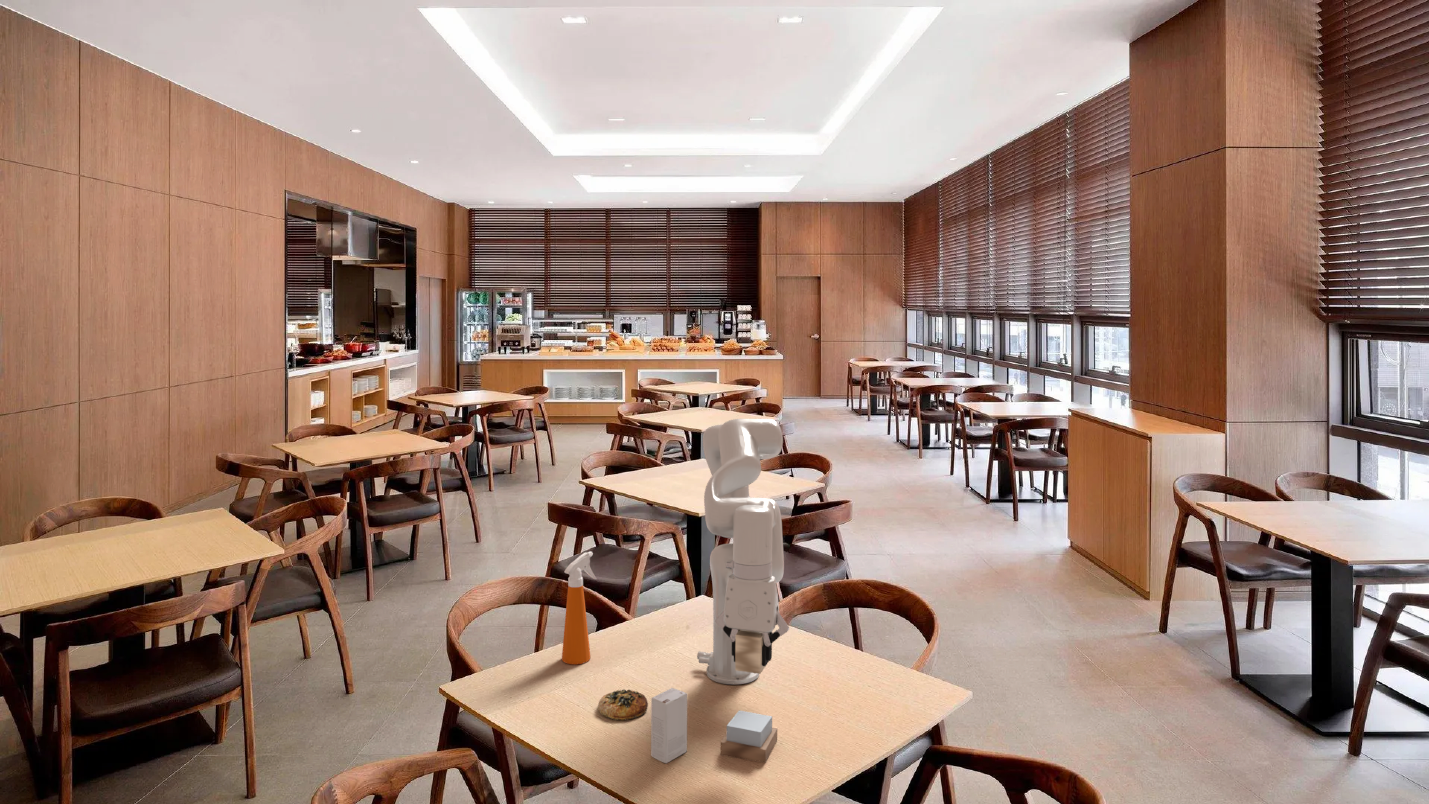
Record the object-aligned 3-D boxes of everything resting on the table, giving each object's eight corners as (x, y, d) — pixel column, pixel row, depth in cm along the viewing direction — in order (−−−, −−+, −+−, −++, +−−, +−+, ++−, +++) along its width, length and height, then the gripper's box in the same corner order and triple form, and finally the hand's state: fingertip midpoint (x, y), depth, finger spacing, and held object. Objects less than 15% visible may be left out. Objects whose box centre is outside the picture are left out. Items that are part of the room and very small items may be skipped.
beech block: (735, 670, 157) (735, 634, 157) (742, 660, 162) (743, 626, 161) (760, 673, 156) (760, 638, 155) (767, 664, 160) (767, 629, 160)
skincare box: (671, 745, 161) (671, 686, 160) (688, 752, 158) (688, 692, 157) (649, 757, 156) (649, 696, 155) (666, 765, 154) (666, 703, 153)
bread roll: (656, 702, 180) (654, 681, 179) (635, 731, 170) (633, 709, 169) (611, 696, 184) (609, 676, 183) (588, 724, 173) (585, 703, 172)
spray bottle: (606, 653, 207) (606, 551, 205) (576, 667, 198) (575, 561, 196) (586, 647, 211) (585, 547, 209) (555, 660, 203) (554, 556, 200)
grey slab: (726, 740, 158) (726, 725, 158) (739, 724, 165) (739, 710, 164) (760, 747, 155) (760, 732, 155) (772, 731, 162) (772, 716, 162)
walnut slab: (720, 757, 158) (720, 742, 157) (734, 735, 166) (734, 721, 166) (765, 765, 155) (765, 749, 155) (777, 742, 163) (777, 728, 163)
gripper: (704, 570, 157) (703, 662, 158) (790, 579, 151) (789, 675, 152) (716, 560, 164) (716, 649, 165) (800, 569, 158) (798, 660, 159)
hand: (751, 660), depth 159 cm, fingers closed on beech block, 5 cm apart
